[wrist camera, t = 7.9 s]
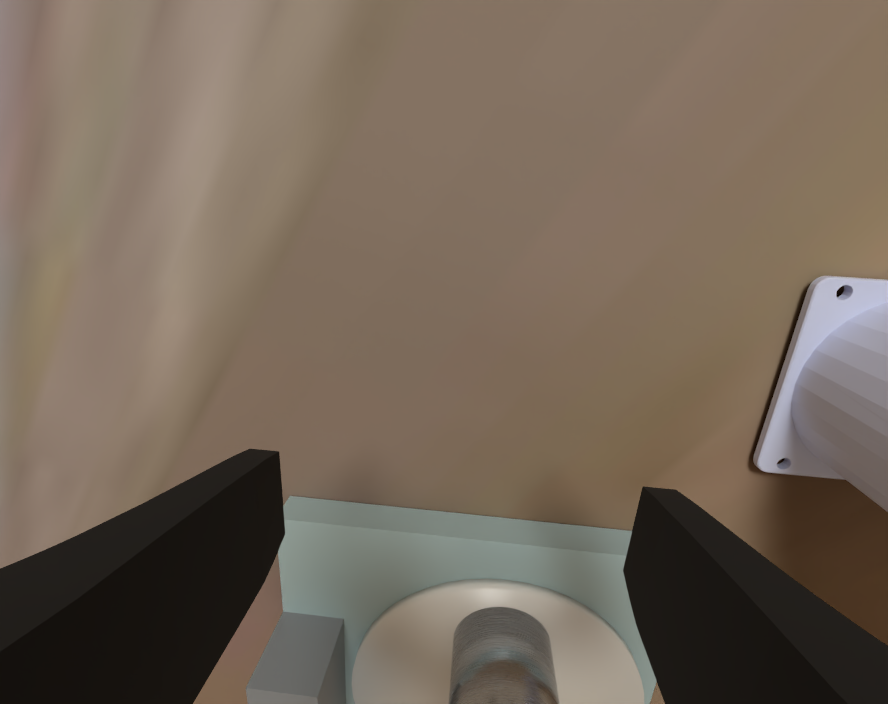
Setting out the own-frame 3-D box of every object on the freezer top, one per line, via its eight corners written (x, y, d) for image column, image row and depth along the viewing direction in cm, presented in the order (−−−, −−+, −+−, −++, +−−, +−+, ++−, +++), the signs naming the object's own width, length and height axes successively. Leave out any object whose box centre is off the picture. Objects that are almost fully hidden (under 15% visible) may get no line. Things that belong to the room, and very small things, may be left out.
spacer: (540, 601, 19) (557, 729, 15) (558, 673, 21) (580, 813, 16) (442, 613, 20) (429, 740, 15) (466, 682, 21) (460, 819, 17)
